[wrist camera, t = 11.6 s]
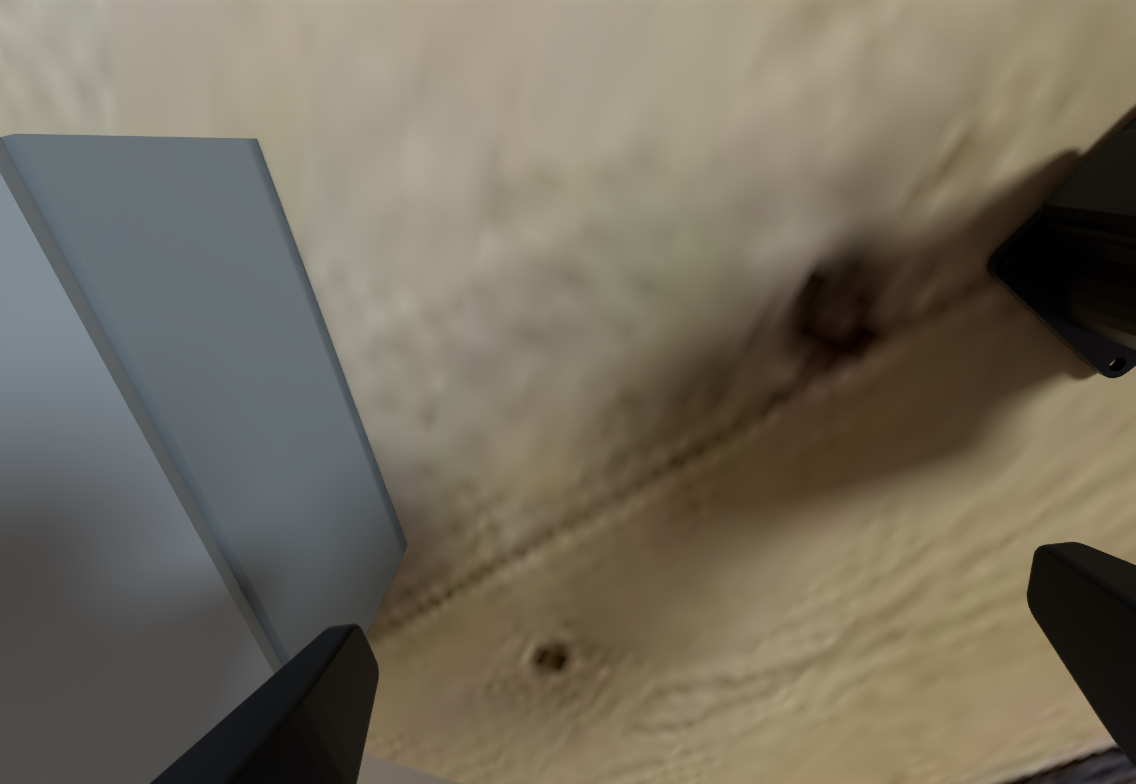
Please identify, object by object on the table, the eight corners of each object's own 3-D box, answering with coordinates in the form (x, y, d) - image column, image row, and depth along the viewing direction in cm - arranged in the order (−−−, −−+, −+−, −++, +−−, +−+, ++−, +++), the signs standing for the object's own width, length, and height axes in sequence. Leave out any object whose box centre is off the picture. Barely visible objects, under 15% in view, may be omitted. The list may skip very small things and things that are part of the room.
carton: (256, 139, 18) (16, 133, 10) (407, 546, 24) (324, 724, 16) (-20, 199, 19) (-417, 234, 11) (193, 573, 25) (26, 751, 18)
